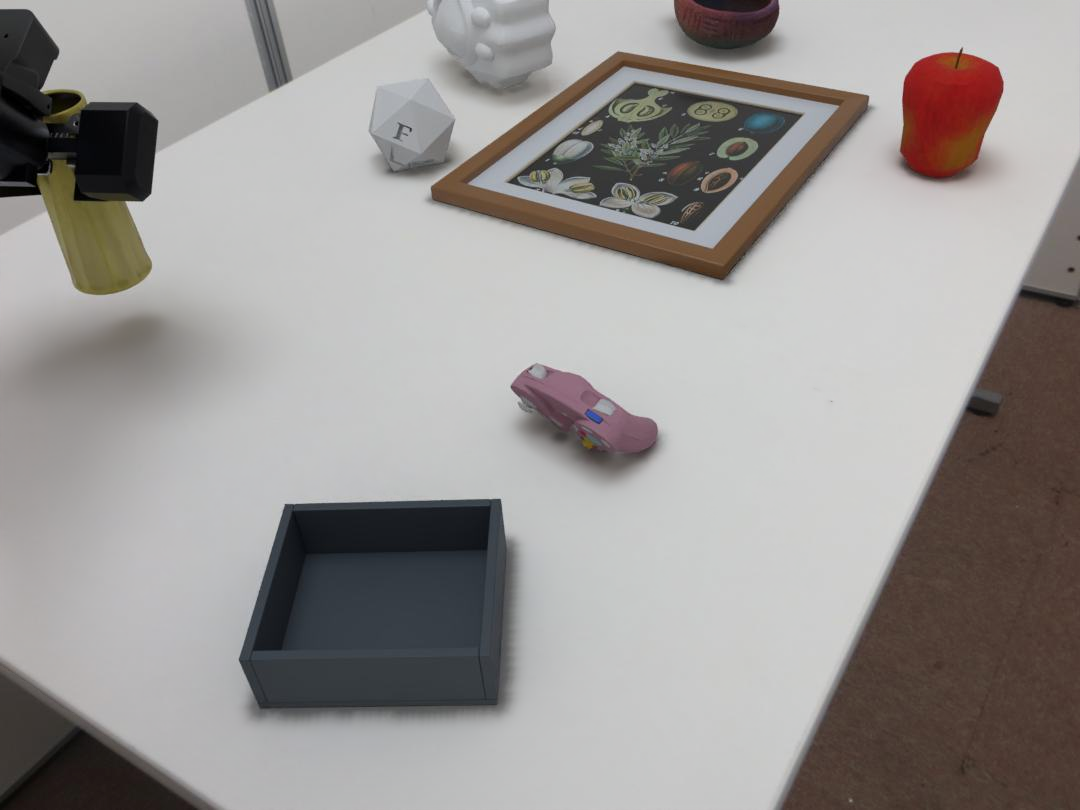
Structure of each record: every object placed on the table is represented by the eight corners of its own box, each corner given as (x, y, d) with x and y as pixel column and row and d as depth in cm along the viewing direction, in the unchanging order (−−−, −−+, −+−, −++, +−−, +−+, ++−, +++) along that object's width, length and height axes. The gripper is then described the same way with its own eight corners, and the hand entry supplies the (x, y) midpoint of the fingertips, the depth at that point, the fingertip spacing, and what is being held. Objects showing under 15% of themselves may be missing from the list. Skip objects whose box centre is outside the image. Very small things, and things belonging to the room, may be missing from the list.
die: (357, 167, 104) (350, 119, 94) (392, 99, 106) (388, 45, 97) (431, 199, 104) (432, 154, 94) (464, 129, 106) (468, 79, 97)
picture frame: (429, 186, 95) (617, 50, 119) (431, 199, 96) (617, 62, 120) (723, 265, 82) (870, 94, 106) (722, 280, 83) (867, 107, 106)
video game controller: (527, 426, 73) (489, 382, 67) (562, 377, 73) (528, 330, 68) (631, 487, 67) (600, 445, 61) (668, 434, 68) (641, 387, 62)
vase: (86, 258, 80) (17, 89, 71) (161, 252, 80) (101, 82, 71) (63, 299, 76) (-14, 125, 67) (143, 293, 76) (77, 117, 67)
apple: (996, 161, 96) (1028, 41, 88) (958, 195, 91) (989, 72, 84) (913, 138, 100) (937, 22, 93) (873, 170, 96) (895, 50, 88)
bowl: (787, 30, 125) (794, -36, 120) (762, 68, 116) (768, -1, 111) (666, 19, 130) (668, -45, 125) (634, 55, 122) (634, -12, 116)
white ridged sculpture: (493, 48, 126) (481, -87, 115) (572, 92, 114) (566, -54, 104) (417, 70, 122) (397, -68, 111) (491, 118, 110) (477, -31, 99)
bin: (259, 708, 54) (238, 660, 51) (300, 552, 62) (284, 503, 59) (497, 704, 53) (490, 656, 50) (506, 547, 62) (501, 498, 59)
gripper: (94, -21, 59) (216, 86, 74) (-180, -18, 61) (-8, 84, 77) (75, 161, 58) (203, 230, 73) (-202, 156, 60) (-23, 224, 76)
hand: (92, 187), depth 75 cm, fingers closed on vase, 5 cm apart
